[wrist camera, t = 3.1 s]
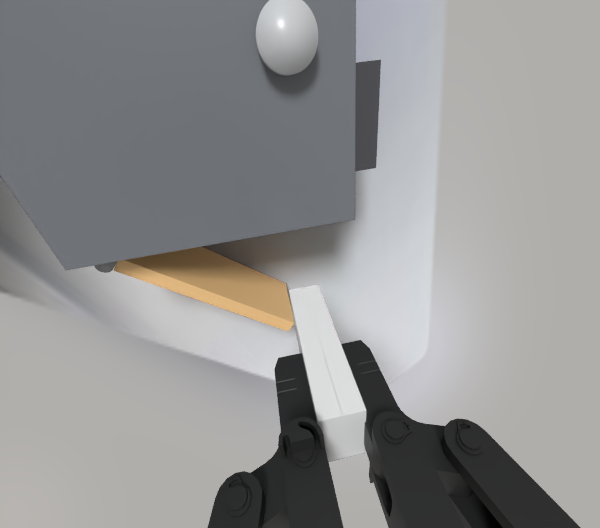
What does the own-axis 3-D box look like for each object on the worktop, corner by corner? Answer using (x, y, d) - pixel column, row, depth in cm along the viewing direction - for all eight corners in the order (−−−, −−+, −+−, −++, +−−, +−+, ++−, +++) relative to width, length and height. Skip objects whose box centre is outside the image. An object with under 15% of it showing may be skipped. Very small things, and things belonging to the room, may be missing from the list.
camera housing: (120, 214, 21) (57, 278, 14) (18, 5, 15) (-201, -78, 7) (340, 179, 23) (386, 220, 16) (335, -23, 16) (411, -114, 9)
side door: (128, 224, 22) (91, 268, 16) (132, 214, 21) (96, 255, 16) (279, 288, 28) (288, 336, 22) (285, 281, 27) (295, 327, 22)
